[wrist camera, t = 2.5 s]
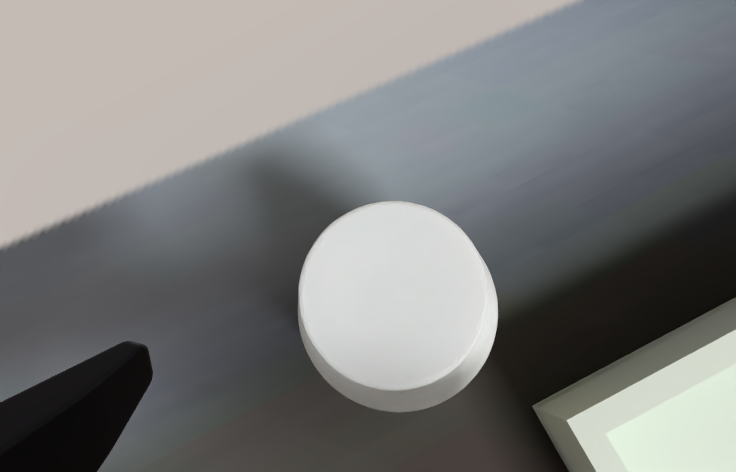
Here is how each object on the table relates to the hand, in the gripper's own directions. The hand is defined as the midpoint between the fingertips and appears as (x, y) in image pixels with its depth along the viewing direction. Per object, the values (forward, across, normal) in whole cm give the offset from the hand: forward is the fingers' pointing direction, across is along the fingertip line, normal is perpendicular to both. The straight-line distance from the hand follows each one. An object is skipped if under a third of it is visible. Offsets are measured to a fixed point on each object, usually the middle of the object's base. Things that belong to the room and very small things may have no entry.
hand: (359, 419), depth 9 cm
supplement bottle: (+9, 0, +5) cm, 10 cm away
